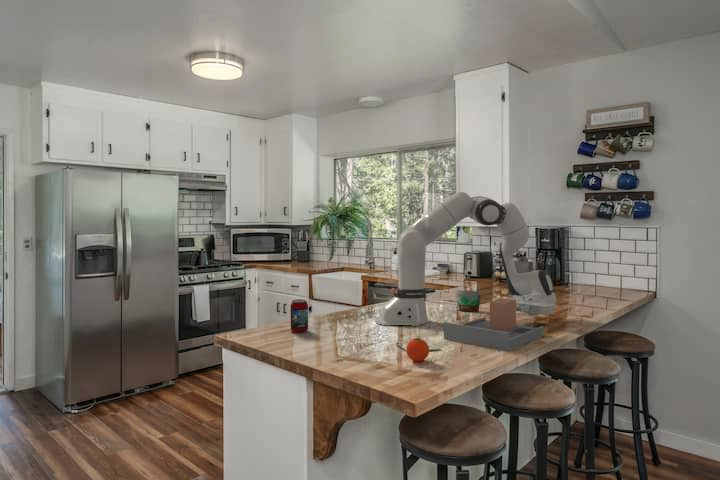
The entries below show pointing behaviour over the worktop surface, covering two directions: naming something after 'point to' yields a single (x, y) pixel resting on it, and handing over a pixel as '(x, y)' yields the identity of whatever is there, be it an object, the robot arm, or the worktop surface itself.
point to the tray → (491, 334)
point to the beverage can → (299, 316)
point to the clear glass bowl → (425, 341)
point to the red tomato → (417, 349)
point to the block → (502, 314)
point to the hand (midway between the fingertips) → (518, 309)
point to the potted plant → (468, 300)
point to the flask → (523, 266)
